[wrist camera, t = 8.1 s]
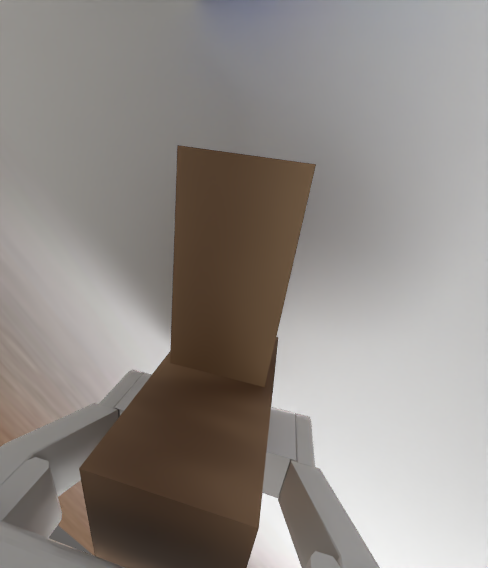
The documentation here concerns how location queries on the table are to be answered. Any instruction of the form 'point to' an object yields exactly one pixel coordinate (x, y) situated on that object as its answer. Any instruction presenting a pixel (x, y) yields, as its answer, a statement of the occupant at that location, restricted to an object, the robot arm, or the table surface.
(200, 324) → the wooden chair block
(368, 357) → the table surface
